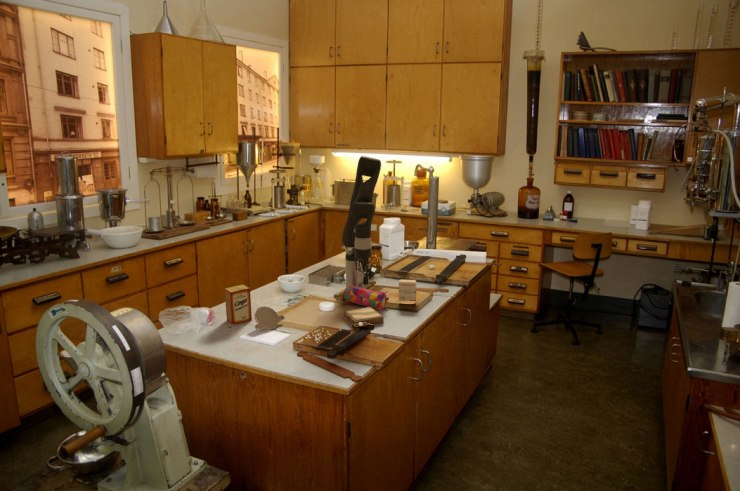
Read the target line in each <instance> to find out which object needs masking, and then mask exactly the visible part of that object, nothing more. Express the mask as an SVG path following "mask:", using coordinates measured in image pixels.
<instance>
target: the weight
mask: <svg viewBox="0 0 740 491" xmlns="http://www.w3.org/2000/svg"><path fill="white" fill-rule="evenodd" d="M363 270H365V269H363ZM369 277H370V276H369ZM369 277H368V285H364V284H363V272H362V271H361V269H360V270H358V287H360V288H365V289H367V288H369V286H370V285H369V283H370V282H369V281H370V280H369Z"/></svg>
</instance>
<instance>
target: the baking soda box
mask: <svg viewBox="0 0 740 491" xmlns="http://www.w3.org/2000/svg"><path fill="white" fill-rule="evenodd" d="M224 298H225V300H224V302H225V313H226V314H225V316H226V322H228V323H229V322H230V323H231V325H232V324H235V325H238V324H243V323H246V322H251V321H252V320H253V318H252V315H253V314H252V302H251V301H252V299H251V288H250V287H248V286H247V285H246V284H239V285H235V286H231V287H226V288H224ZM230 323H229V324H230Z"/></svg>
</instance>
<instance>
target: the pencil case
mask: <svg viewBox="0 0 740 491" xmlns="http://www.w3.org/2000/svg"><path fill="white" fill-rule="evenodd" d="M387 293H388V292H387V291H385V292H384V291H382V290H379V291H374V290H372V289H368V288H360V287H357V286H354V285H352V286H349V287H348V288H347V289H346V288H345V291H344V296H343V297H344V300H345V302H346V303H352V304H354V305H360V306H363V307H365V308H366V307H372V308H373V309H374V310H376V311H382V310H383V309H384V308H386V306H387V302H388V301H389V298H390V297H388V296H387V295H386V294H387Z"/></svg>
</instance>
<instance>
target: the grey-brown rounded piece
mask: <svg viewBox="0 0 740 491" xmlns="http://www.w3.org/2000/svg"><path fill="white" fill-rule="evenodd" d="M278 315H279V314H277V312H276V310H274V309H273V308H271V307H270V306H265V305H264V306H260V307H258V308H257V309H256V311H255V313H254V316H253V318H254V320H255V323H256V324H255V325H254V328H255V330H256V331H259V330H262V329H263V330H268V329H270V330H272V329H274V328H277V326H278V324H279V323H280V321H281V322H283V321H284V320H285V319H286V318H285V316H284V315H283V314H282V315H279V316H278ZM282 320H283V321H282ZM258 329H259V330H258Z"/></svg>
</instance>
